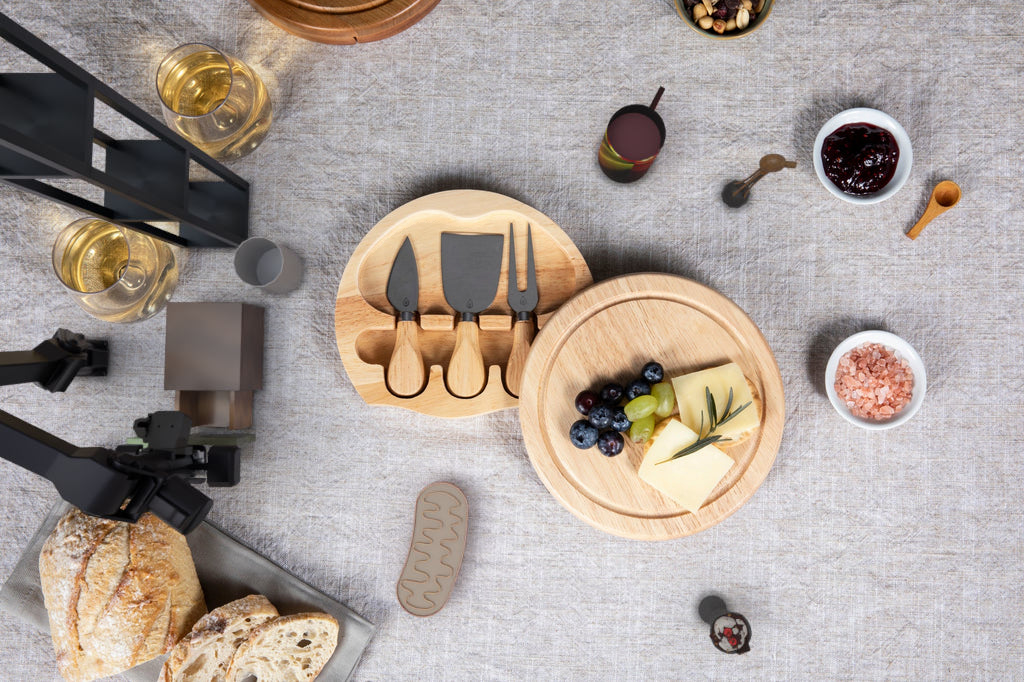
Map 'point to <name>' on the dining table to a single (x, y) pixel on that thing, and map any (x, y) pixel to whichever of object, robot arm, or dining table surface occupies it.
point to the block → (137, 441)
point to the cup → (267, 265)
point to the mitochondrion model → (434, 550)
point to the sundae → (725, 626)
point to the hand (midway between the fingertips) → (203, 458)
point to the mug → (632, 141)
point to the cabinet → (213, 346)
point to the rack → (110, 155)
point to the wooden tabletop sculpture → (753, 180)
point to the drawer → (217, 414)
